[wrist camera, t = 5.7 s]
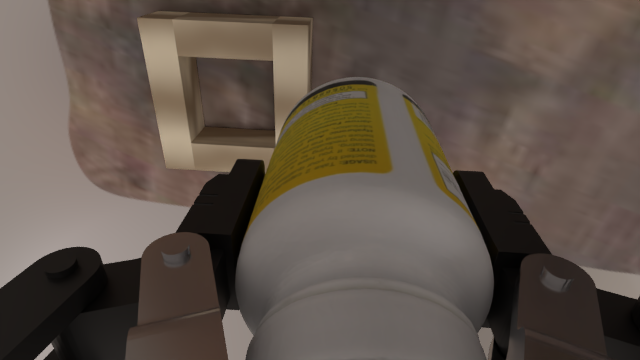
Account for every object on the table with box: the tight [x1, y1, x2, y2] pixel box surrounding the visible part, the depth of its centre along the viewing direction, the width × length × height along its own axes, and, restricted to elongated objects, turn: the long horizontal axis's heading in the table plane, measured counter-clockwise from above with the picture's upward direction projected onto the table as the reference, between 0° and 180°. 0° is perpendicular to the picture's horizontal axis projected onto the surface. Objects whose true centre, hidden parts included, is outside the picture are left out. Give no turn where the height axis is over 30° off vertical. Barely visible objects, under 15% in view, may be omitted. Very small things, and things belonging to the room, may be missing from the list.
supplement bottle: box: [235, 77, 494, 360], centre depth 10 cm, size 5×5×10 cm
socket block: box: [137, 11, 313, 174], centre depth 32 cm, size 12×12×4 cm
